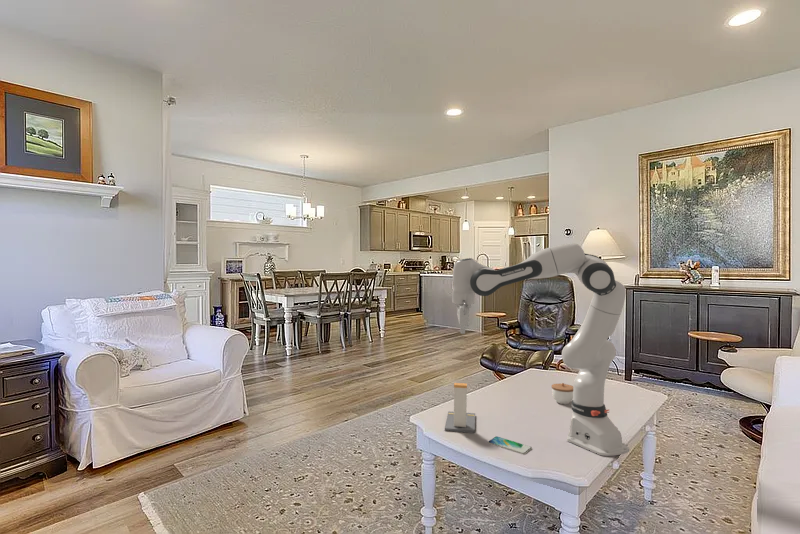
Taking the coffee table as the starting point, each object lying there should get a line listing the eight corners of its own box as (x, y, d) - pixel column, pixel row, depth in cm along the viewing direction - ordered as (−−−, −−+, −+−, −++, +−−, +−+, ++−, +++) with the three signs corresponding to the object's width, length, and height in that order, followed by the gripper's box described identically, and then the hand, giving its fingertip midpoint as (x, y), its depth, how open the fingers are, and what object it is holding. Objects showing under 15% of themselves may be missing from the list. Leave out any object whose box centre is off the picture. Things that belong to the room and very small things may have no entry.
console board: (474, 433, 173) (474, 430, 173) (444, 430, 175) (444, 427, 175) (475, 415, 193) (475, 413, 193) (448, 413, 195) (448, 411, 195)
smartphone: (524, 453, 154) (487, 441, 164) (524, 456, 154) (487, 444, 164) (532, 446, 159) (496, 435, 169) (532, 449, 160) (496, 437, 169)
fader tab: (466, 427, 176) (466, 385, 176) (453, 426, 177) (454, 384, 177) (466, 424, 179) (467, 383, 179) (453, 423, 180) (454, 382, 180)
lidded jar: (570, 399, 217) (571, 380, 217) (577, 406, 207) (577, 386, 207) (548, 398, 219) (549, 379, 218) (554, 405, 208) (554, 385, 208)
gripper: (473, 303, 162) (472, 339, 163) (469, 295, 182) (468, 327, 183) (456, 302, 162) (455, 338, 163) (454, 295, 182) (453, 327, 184)
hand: (462, 332), depth 173 cm, fingers closed
